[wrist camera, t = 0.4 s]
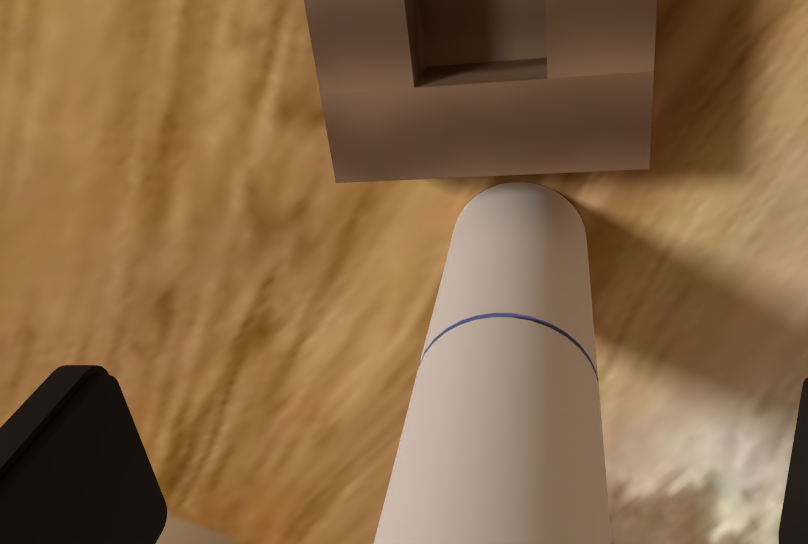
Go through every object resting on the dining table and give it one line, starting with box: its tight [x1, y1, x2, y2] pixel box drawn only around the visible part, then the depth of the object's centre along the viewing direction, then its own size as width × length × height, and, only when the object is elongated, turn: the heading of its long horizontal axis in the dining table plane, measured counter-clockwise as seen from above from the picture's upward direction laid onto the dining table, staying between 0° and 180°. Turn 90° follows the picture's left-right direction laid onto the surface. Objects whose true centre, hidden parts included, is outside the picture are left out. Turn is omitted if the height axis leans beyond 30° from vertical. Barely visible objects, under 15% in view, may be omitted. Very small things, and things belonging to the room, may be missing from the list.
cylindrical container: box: [374, 182, 612, 544], centre depth 29 cm, size 7×7×25 cm
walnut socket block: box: [304, 0, 657, 183], centre depth 32 cm, size 14×14×5 cm
